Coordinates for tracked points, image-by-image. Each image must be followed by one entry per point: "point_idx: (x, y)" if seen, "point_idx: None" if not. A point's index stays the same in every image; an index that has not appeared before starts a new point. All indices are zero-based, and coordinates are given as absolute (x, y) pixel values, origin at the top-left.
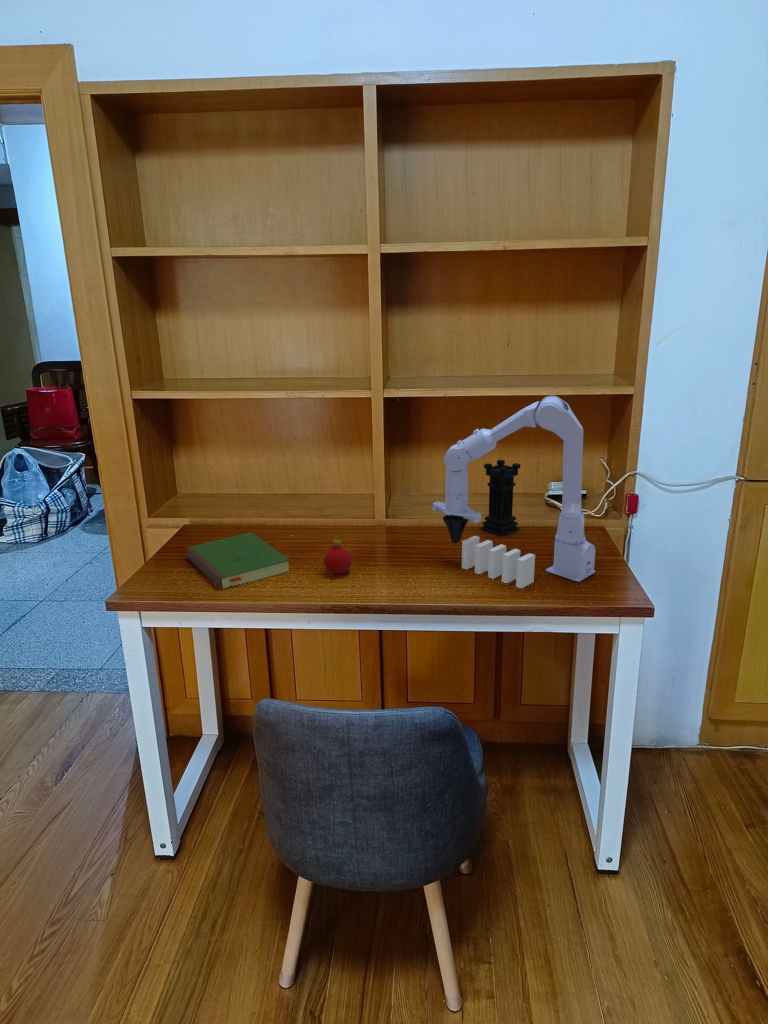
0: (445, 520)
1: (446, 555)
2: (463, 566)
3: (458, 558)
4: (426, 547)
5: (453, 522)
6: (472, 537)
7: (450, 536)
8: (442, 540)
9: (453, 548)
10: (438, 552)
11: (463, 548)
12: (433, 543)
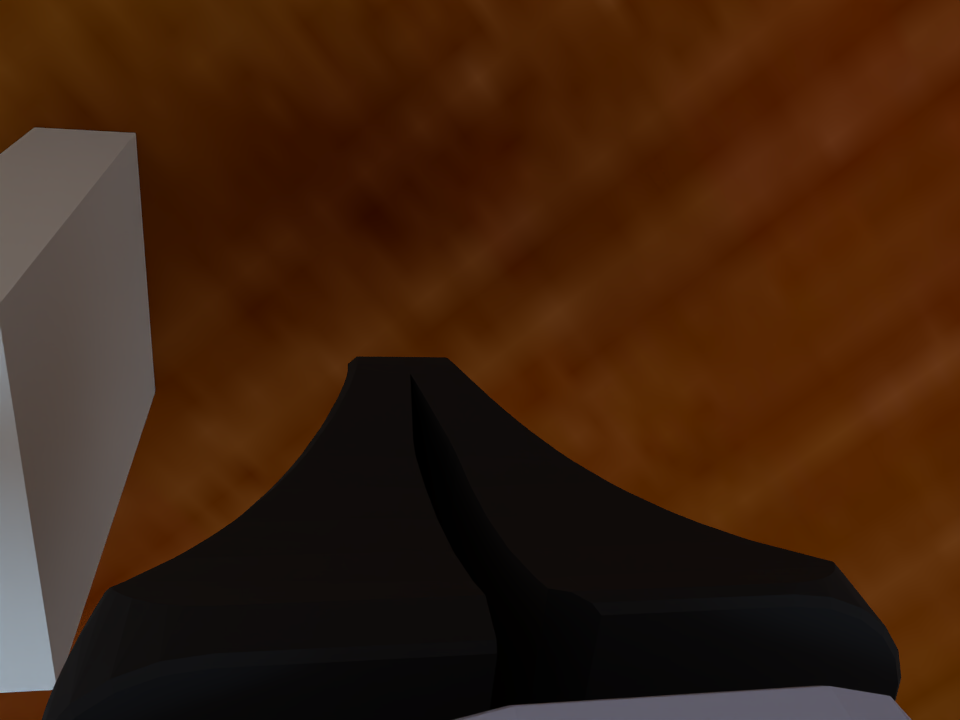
0: (712, 564)
1: (574, 333)
2: (93, 140)
3: None
4: (903, 358)
5: (293, 590)
6: (8, 604)
7: (476, 391)
8: None
9: None
10: (707, 339)
11: (7, 240)
12: (880, 488)
